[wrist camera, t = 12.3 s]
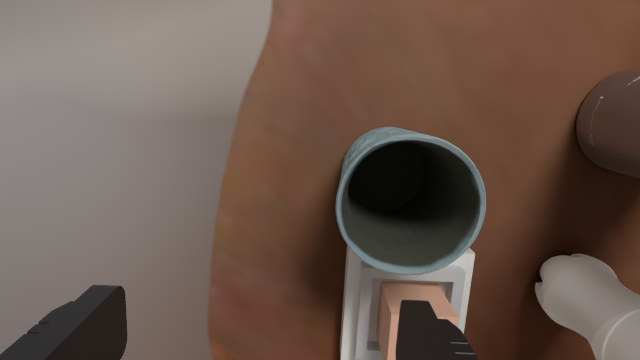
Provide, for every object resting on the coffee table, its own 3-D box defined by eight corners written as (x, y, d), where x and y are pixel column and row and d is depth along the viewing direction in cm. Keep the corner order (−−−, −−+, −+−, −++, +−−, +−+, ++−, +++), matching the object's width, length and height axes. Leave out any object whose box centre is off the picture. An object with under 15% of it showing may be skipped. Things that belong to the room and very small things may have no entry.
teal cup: (456, 184, 40) (513, 225, 28) (369, 242, 41) (389, 303, 30) (399, 97, 38) (434, 102, 27) (309, 160, 40) (306, 191, 28)
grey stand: (467, 246, 42) (481, 260, 38) (452, 352, 44) (464, 375, 41) (347, 240, 41) (350, 254, 38) (339, 347, 44) (341, 369, 41)
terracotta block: (437, 283, 40) (457, 317, 34) (431, 334, 41) (450, 375, 36) (380, 281, 40) (391, 314, 34) (376, 332, 41) (385, 373, 35)
